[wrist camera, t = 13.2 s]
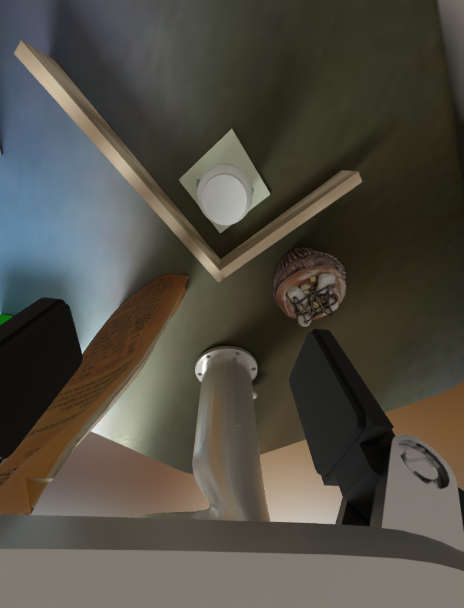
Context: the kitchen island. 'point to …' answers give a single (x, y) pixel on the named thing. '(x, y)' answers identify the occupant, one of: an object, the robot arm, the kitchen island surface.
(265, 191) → the pad
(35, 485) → the pancake mix bag
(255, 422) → the robot arm
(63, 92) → the angled wooden barrier
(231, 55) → the kitchen island surface
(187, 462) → the kitchen island surface
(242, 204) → the supplement bottle
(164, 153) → the kitchen island surface
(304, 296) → the cupcake
